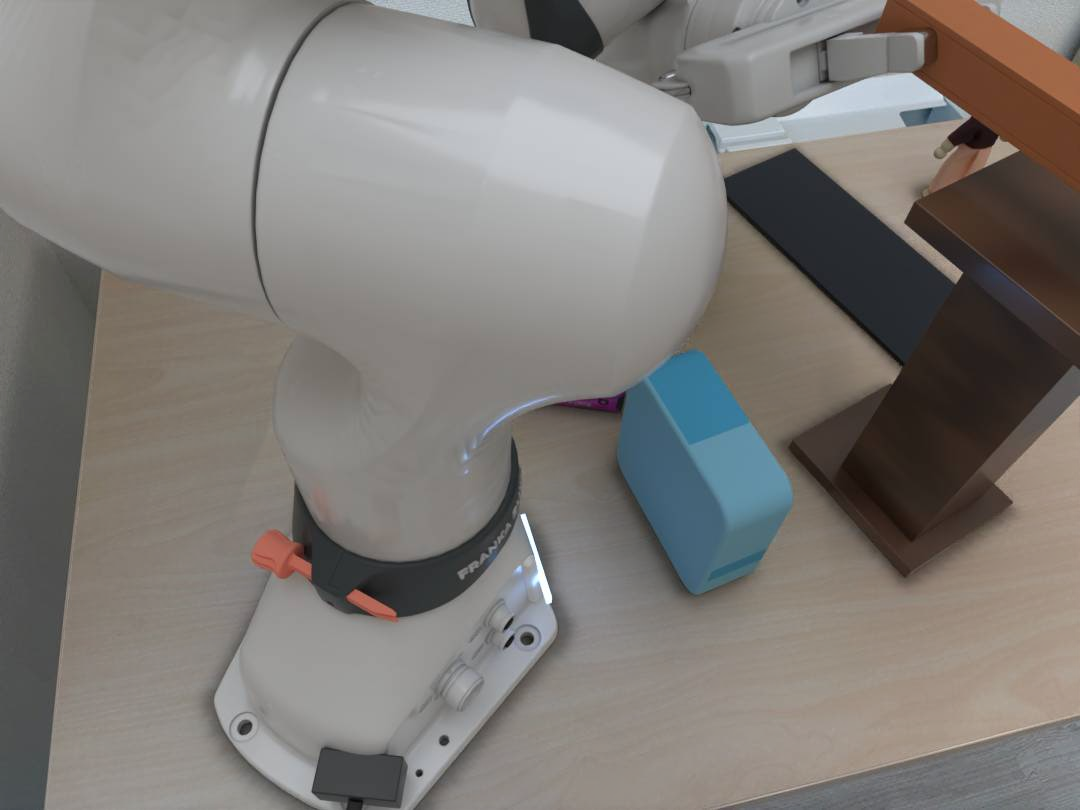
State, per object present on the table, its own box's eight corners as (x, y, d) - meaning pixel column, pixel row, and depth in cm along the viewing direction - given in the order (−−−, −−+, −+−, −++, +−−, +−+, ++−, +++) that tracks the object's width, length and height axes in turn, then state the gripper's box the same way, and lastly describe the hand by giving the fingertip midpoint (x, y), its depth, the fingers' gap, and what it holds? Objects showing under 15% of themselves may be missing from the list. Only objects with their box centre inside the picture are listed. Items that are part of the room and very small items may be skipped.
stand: (787, 447, 62) (914, 200, 42) (885, 391, 65) (1045, 137, 45) (905, 578, 57) (1114, 363, 37) (1005, 510, 60) (1248, 278, 40)
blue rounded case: (751, 578, 56) (801, 494, 46) (693, 603, 55) (731, 522, 45) (667, 438, 62) (695, 337, 52) (613, 459, 61) (631, 359, 51)
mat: (712, 186, 78) (713, 182, 78) (793, 151, 81) (795, 147, 81) (916, 380, 66) (919, 376, 66) (1003, 330, 69) (1006, 326, 69)
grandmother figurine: (934, 223, 76) (1000, 103, 66) (903, 198, 78) (964, 77, 67) (992, 195, 78) (1066, 74, 68) (962, 171, 80) (1029, 50, 70)
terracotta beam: (870, 43, 45) (890, -11, 42) (910, 28, 46) (932, -27, 43) (1205, 284, 35) (1257, 231, 33) (1246, 258, 36) (1300, 205, 34)
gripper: (625, 36, 48) (796, 27, 37) (881, -51, 55) (1094, -82, 43) (644, 144, 51) (808, 167, 40) (885, 50, 58) (1085, 46, 46)
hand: (959, 37), depth 42 cm, fingers closed on terracotta beam, 3 cm apart
